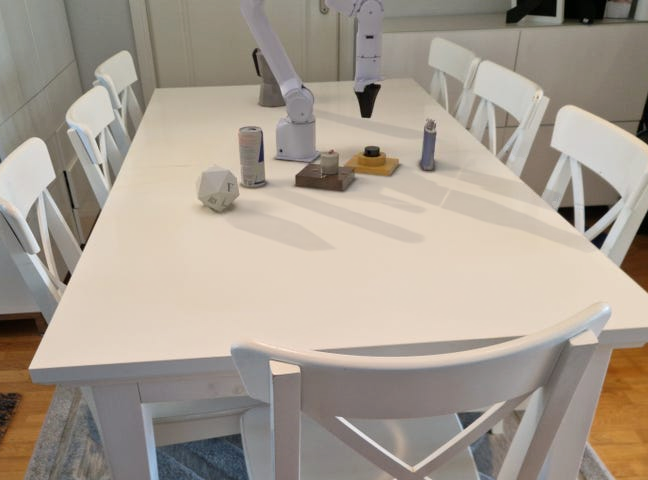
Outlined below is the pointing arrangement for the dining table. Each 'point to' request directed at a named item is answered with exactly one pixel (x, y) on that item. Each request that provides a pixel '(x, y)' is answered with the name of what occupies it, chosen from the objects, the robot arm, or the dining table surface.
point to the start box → (373, 164)
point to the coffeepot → (267, 82)
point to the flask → (428, 145)
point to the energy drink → (251, 156)
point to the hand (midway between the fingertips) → (366, 117)
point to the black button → (372, 151)
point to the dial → (329, 162)
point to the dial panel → (324, 178)
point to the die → (217, 187)
